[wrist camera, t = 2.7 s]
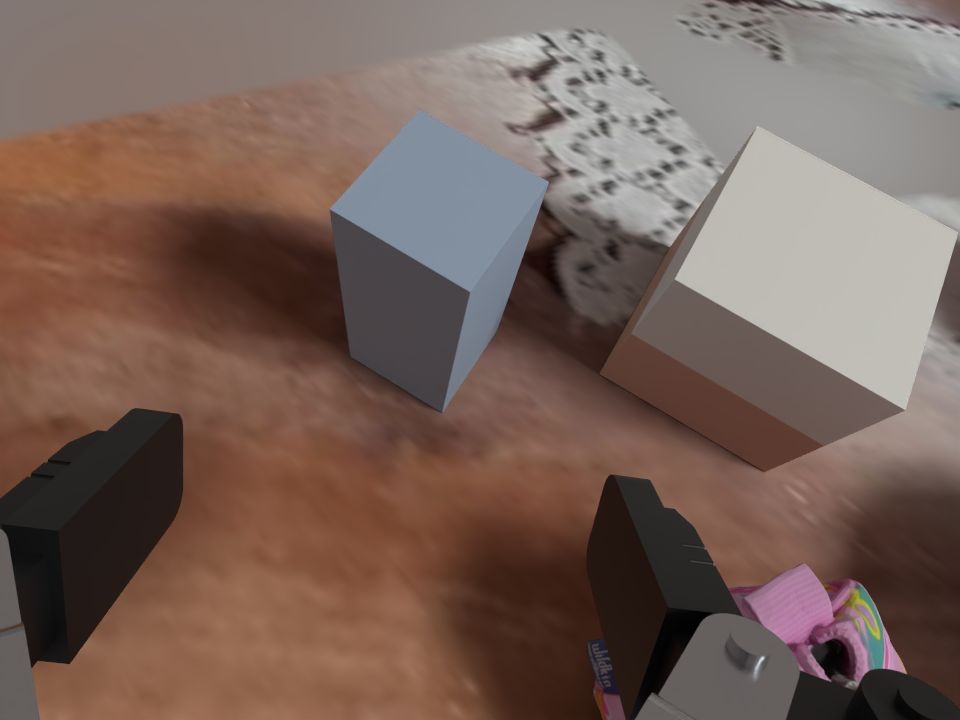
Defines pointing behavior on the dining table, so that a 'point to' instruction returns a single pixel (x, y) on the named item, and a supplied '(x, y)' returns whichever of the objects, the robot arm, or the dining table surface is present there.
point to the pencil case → (794, 631)
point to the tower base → (786, 307)
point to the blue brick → (431, 255)
